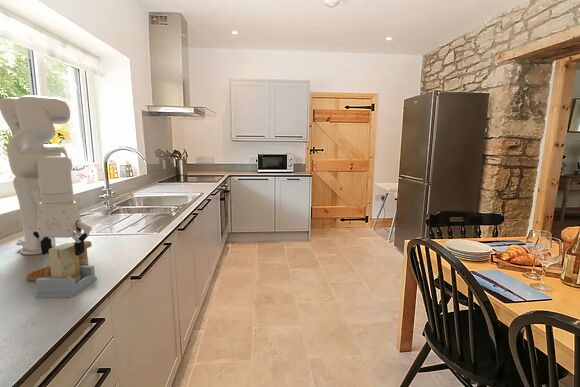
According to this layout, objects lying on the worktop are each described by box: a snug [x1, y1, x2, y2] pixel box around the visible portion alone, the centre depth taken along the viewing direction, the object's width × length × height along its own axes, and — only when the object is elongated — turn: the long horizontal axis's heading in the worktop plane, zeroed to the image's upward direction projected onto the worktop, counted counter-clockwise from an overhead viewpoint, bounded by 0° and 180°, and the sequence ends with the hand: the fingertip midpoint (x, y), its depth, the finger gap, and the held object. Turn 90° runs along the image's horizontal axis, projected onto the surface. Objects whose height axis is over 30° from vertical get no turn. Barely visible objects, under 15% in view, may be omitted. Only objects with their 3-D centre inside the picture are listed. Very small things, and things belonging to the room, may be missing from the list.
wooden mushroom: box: [72, 240, 93, 265], centre depth 102 cm, size 7×7×10 cm
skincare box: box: [48, 242, 81, 283], centre depth 91 cm, size 6×4×12 cm
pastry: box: [25, 265, 51, 282], centre depth 98 cm, size 9×7×4 cm
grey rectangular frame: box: [34, 264, 98, 299], centre depth 91 cm, size 10×12×5 cm
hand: (63, 253), depth 90 cm, fingers open, 9 cm apart
